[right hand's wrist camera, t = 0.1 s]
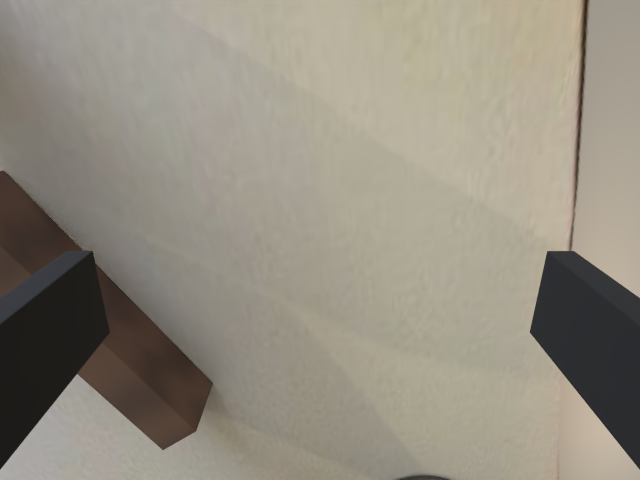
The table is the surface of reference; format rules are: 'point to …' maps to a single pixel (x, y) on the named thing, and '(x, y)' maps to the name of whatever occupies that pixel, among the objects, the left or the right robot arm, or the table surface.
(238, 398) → the table surface
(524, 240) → the table surface
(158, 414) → the beam
